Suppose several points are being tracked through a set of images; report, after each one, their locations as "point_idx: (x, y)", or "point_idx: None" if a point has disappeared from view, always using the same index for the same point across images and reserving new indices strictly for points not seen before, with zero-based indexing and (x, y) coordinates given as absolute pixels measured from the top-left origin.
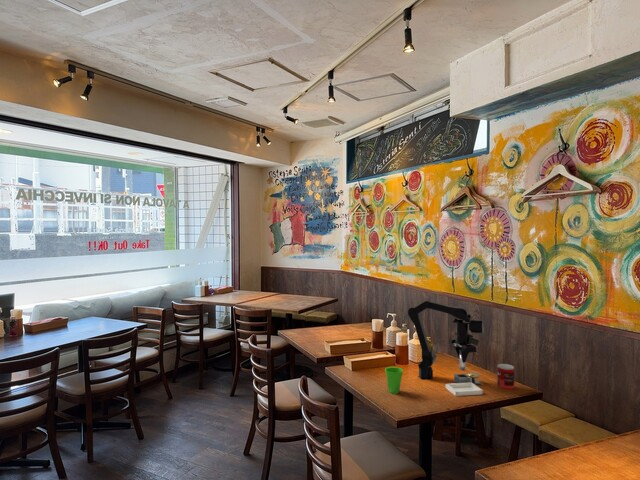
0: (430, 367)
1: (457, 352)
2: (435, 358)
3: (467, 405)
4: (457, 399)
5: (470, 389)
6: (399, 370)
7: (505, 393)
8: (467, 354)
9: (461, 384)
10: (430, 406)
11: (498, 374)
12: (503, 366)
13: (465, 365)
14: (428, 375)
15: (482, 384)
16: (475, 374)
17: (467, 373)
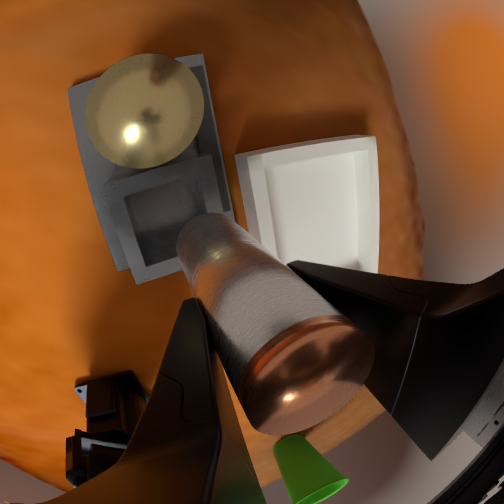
0: (118, 434)
1: (249, 457)
2: (101, 470)
3: (419, 241)
4: (378, 269)
5: (296, 181)
6: (306, 490)
7: (324, 5)
8: (436, 293)
9: (271, 237)
10: None
11: None
12: None
13: (244, 231)
14: (142, 408)
15: (199, 63)
16: (159, 91)
17: (131, 165)
